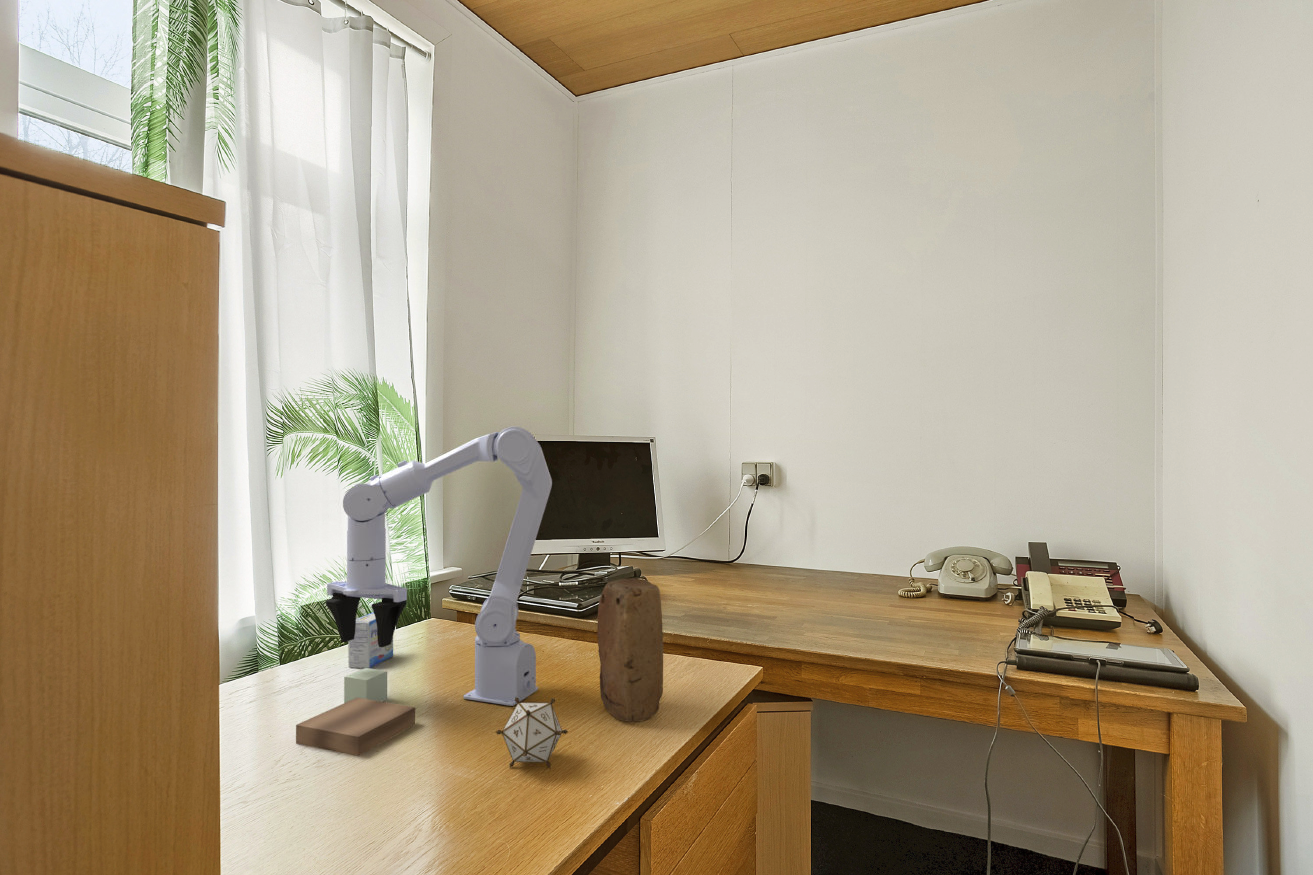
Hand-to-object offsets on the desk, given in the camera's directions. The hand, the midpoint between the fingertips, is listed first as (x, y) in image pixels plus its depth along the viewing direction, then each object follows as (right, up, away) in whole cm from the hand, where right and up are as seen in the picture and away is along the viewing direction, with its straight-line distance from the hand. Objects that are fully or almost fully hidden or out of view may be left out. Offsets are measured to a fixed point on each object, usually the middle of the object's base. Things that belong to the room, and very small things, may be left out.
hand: (366, 642), depth 110 cm
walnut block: (+4, -10, -12) cm, 16 cm away
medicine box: (-7, -10, +20) cm, 23 cm away
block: (+42, -10, -4) cm, 44 cm away
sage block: (0, -9, 0) cm, 9 cm away
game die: (+30, -9, -21) cm, 38 cm away
